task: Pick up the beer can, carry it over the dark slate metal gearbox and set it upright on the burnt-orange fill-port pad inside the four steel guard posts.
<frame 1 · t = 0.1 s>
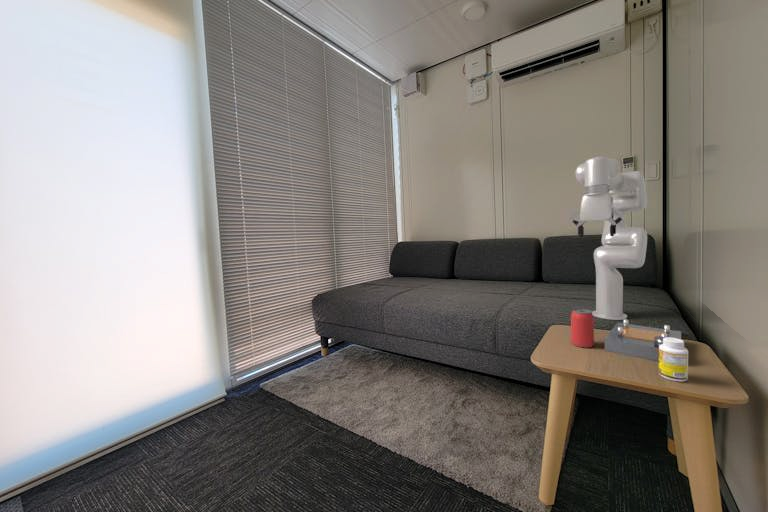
hand: (596, 236, 114), 37 cm above the table, tool pointing down, fingers open, 9 cm apart
supplement bottle: (672, 378, 78), on the table
beer can: (582, 345, 103), on the table
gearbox: (643, 346, 99), on the table
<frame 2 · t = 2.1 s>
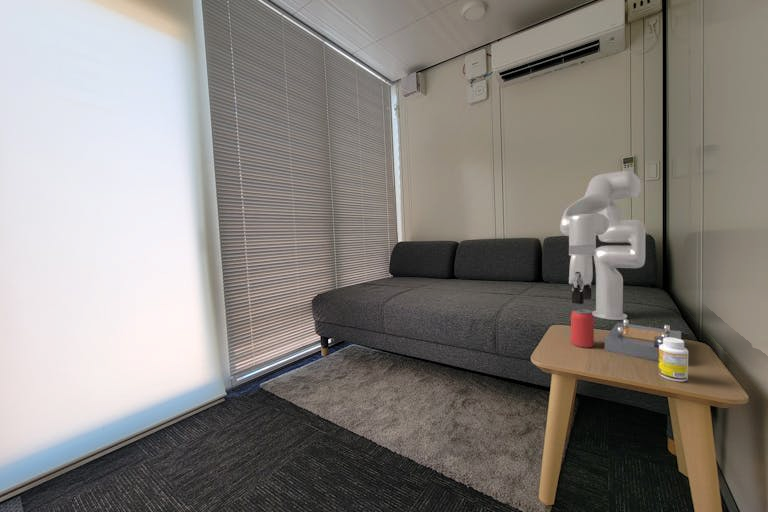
hand: (581, 301, 101), 15 cm above the table, tool pointing down, fingers open, 9 cm apart
nothing on the table moved.
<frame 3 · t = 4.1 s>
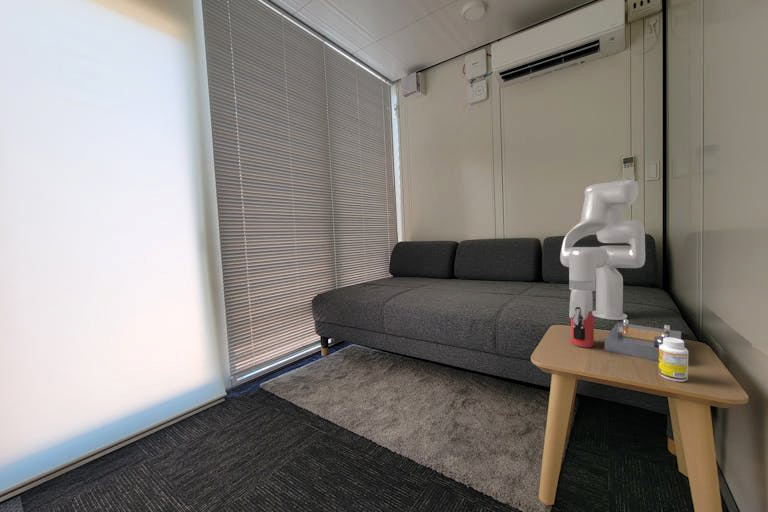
hand: (582, 335, 103), 3 cm above the table, tool pointing down, fingers closed on beer can, 6 cm apart
beer can: (582, 345, 103), on the table, touching gripper
everything else where it was.
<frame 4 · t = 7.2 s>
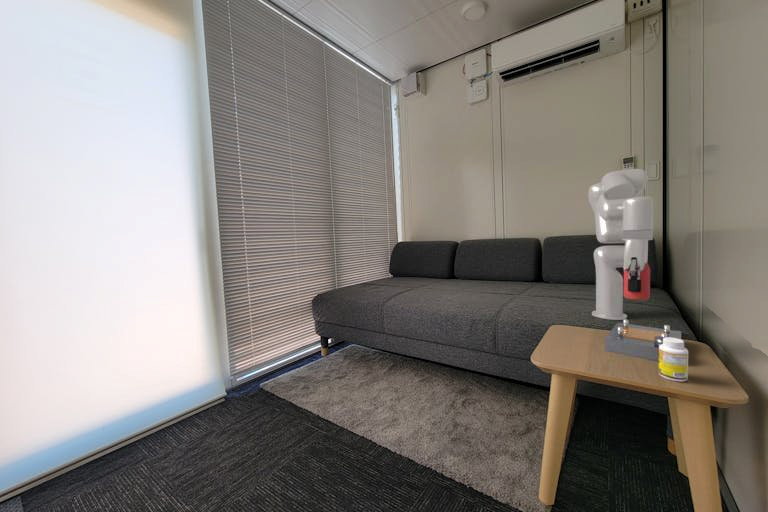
hand: (636, 289, 98), 19 cm above the table, tool pointing down, fingers closed on beer can, 6 cm apart
beer can: (636, 299, 98), point 16 cm above the table, touching gripper
everything else where it was.
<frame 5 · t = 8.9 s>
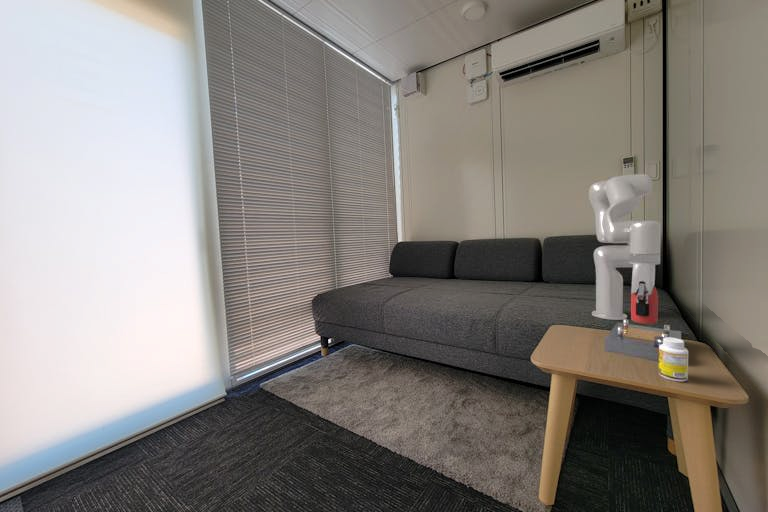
hand: (643, 312, 98), 12 cm above the table, tool pointing down, fingers closed on beer can, 6 cm apart
beer can: (643, 322, 98), point 8 cm above the table, touching gripper
everything else where it was.
when the fingers open (9 cm above the table, at t = 10.4 s): beer can drops 1 cm, resting on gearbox.
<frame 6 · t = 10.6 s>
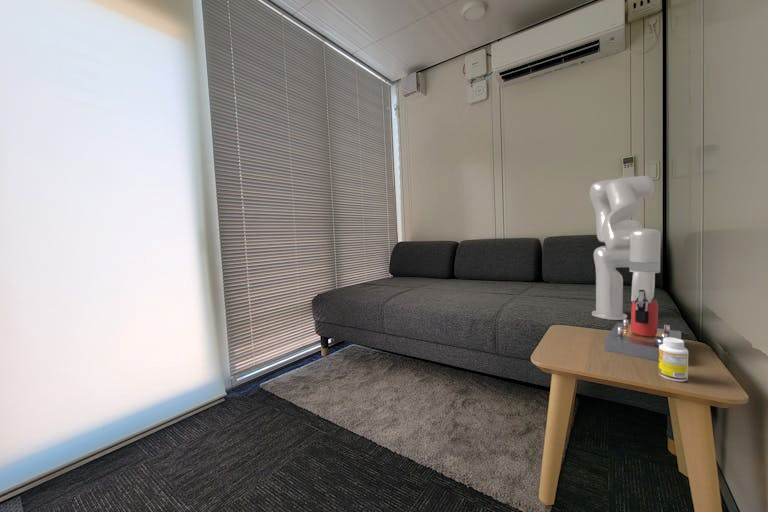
hand: (643, 319, 98), 9 cm above the table, tool pointing down, fingers open, 8 cm apart
beer can: (643, 334, 98), point 4 cm above the table, touching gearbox
everything else where it was.
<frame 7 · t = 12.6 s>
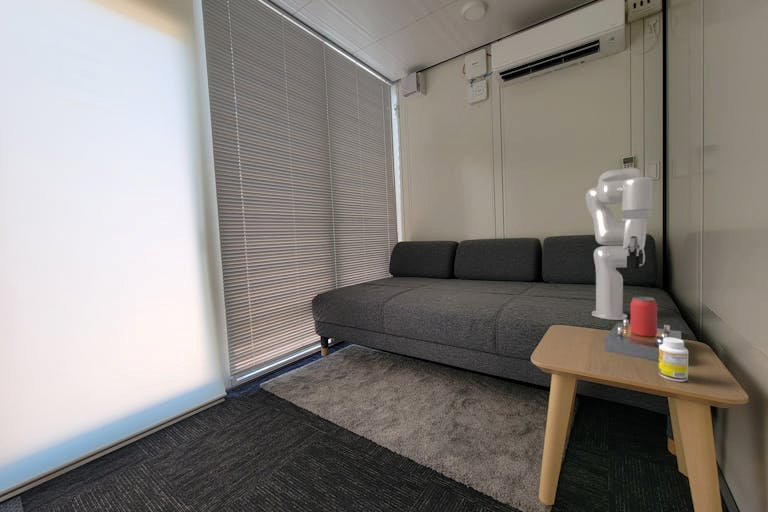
hand: (634, 265, 101), 27 cm above the table, tool pointing down, fingers open, 9 cm apart
nothing on the table moved.
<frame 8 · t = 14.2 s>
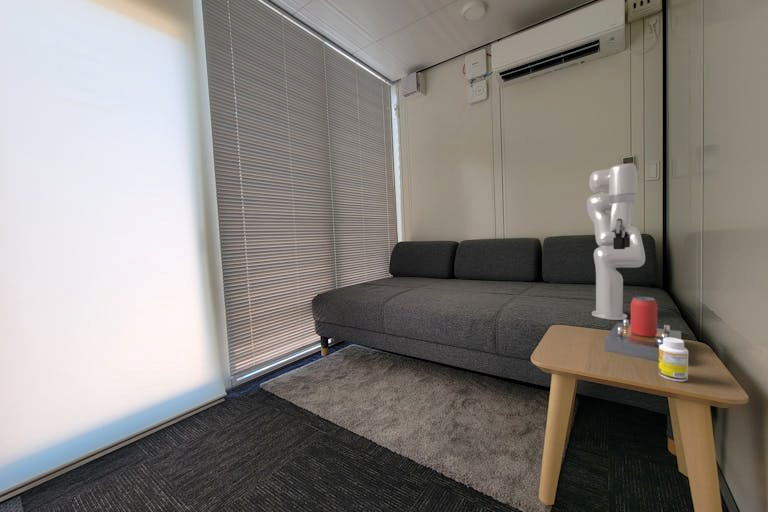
hand: (621, 248, 107), 32 cm above the table, tool pointing down, fingers open, 9 cm apart
nothing on the table moved.
at the end: beer can 0.1 cm off-centre on the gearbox, point 4.1 cm above the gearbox's base; beer can tilted 0°; the gripper is holding nothing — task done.
